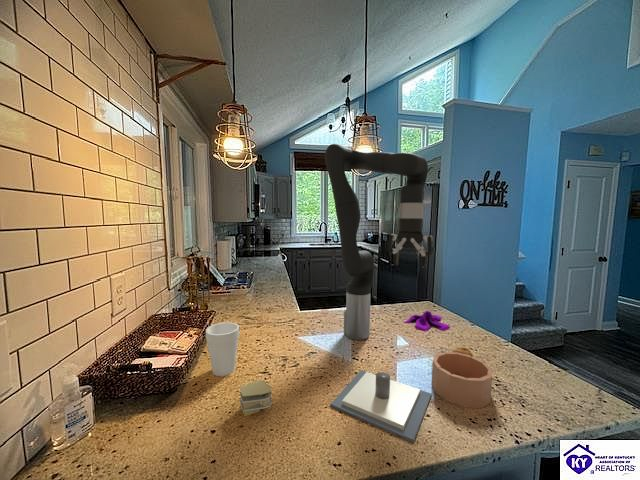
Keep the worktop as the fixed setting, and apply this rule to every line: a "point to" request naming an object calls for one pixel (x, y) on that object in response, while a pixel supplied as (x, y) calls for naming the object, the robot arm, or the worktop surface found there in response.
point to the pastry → (463, 351)
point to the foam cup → (222, 347)
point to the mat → (407, 433)
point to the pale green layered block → (255, 397)
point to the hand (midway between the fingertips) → (409, 266)
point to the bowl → (462, 379)
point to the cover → (383, 399)
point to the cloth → (427, 321)
